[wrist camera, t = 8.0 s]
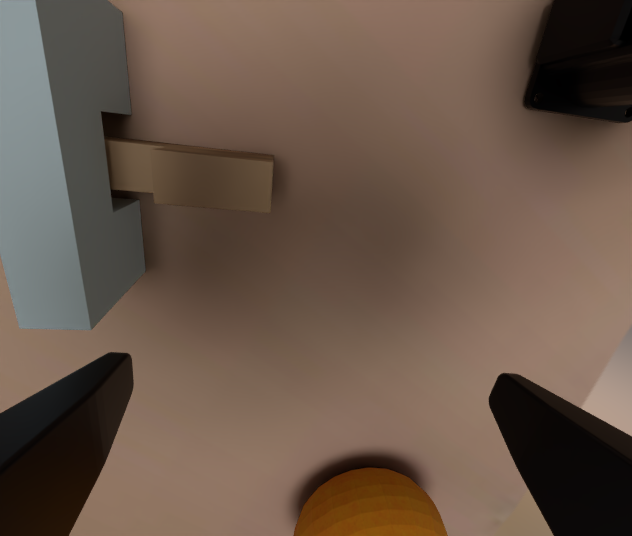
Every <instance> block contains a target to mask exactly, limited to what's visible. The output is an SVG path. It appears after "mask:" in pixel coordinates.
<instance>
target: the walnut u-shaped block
mask: <svg viewBox="0 0 632 536" xmlns="http://www.w3.org/2000/svg"><path fill="white" fill-rule="evenodd" d="M104 142H105V150H106V158H107V166H108V175H109V183H110V189H114V190H125V191H136V192H147V193H153V195H154V203H156V204H168V205H180V206H192V207H203V208H215V209H227V210H239V211H250V212H262V213H270V210H271V194H272V178H273V163H274V161H273V155H266V154H258V153H249V152H240V151H231V150H222V149H213V148H204V147H195V146H186V145H177V144H168V143H160V142H151V141H142V140H133V139H124V138H115V137H106V136H104Z"/></svg>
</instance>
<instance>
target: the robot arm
mask: <svg viewBox="0 0 632 536" xmlns="http://www.w3.org/2000/svg"><path fill="white" fill-rule="evenodd" d="M536 94H537V95H538V100H537V102H536V103H535V101H534V99H535V96H536ZM524 103H525V106H526V107H527V108H528V109H531V110H537V111H544V112H550V113H557V114H564V115H570V116H577V117H583V118H590V119H597V120H603V121H610V122H616V123H625V122H630V121H632V0H555V1H554V3H553V7H552V10H551V13H550V16H549V19H548V23H547V26H546V29H545V32H544V36H543V39H542V42H541V45H540V48H539V52H538V55H537V60H536V64H535V67H534V70H533V73H532V77H531V80H530V83H529V86H528V89H527V93H526V96H525V101H524ZM625 111H626V114H625ZM133 384H134V382H133V368H132V358H131V355H130V354H128V353H117V352H110V353H107V354H105V355H104V356H102V357H100V358H98V359H96V360H95V361H93V362H91V363H89V364H87V365H86V366H84V367H82V368H80V369H79V370H77V371H75V372H73V373H71V374H70V375H68V376H66V377H64V378H62V379H61V380H59V381H57V382H55V383H54V384H52V385H50V386H48V387H46V388H45V389H43V390H41V391H39V392H38V393H36V394H34V395H32V396H30V397H29V398H27V399H25V400H23V401H21V402H20V403H18V404H16V405H14V406H13V407H11V408H9V409H7V410H5V411H4V412H2V413H0V536H69V534H70V532H71V530H72V528H73V526H74V524H75V522H76V520H77V518H78V516H79V514H80V512H81V510H82V508H83V506H84V504H85V502H86V500H87V499H88V497H89V495H90V493H91V491H92V489H93V487H94V485H95V483H96V481H97V479H98V477H99V475H100V473H101V470H102V468H103V466H104V464H105V462H106V459H107V457H108V454H109V452H110V449H111V447H112V444H113V441H114V439H115V436H116V434H117V431H118V428H119V426H120V423H121V421H122V418H123V415H124V413H125V410H126V407H127V405H128V402H129V400H130V397H131V394H132V391H133ZM489 406H490V409H491V411H492V413H493V415H494V418H495V420H496V422H497V424H498V427H499V429H500V431H501V433H502V436H503V438H504V440H505V443H506V445H507V447H508V449H509V452H510V454H511V456H512V458H513V460H514V462H515V465H516V467H517V469H518V470H519V472H520V474H521V476H522V478H523V480H524V482H525V484H526V485H527V487H528V489H529V491H530V493H531V495H532V496H533V498H534V500H535V502H536V504H537V506H538V507H539V509H540V511H541V513H542V515H543V517H544V518H545V520H546V522H547V524H548V526H549V528H550V529H551V531H552V533H553V535H554V536H632V436H630V435H628V434H626V433H624V432H623V431H621V430H619V429H617V428H615V427H613V426H612V425H610V424H608V423H606V422H604V421H603V420H601V419H599V418H597V417H595V416H594V415H592V414H590V413H588V412H586V411H584V410H583V409H581V408H579V407H577V406H575V405H573V404H572V403H570V402H568V401H566V400H564V399H563V398H561V397H559V396H557V395H555V394H553V393H552V392H550V391H548V390H546V389H544V388H542V387H541V386H539V385H537V384H535V383H533V382H532V381H530V380H528V379H526V378H524V377H522V376H521V375H518V374H513V373H502V374H500V375H499V376H498V378H497V380H496V382H495V385H494V387H493V389H492V391H491V394H490V396H489Z"/></svg>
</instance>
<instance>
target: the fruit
mask: <svg viewBox="0 0 632 536" xmlns="http://www.w3.org/2000/svg"><path fill="white" fill-rule="evenodd" d="M294 536H448V535H447V532H446V530H445V527H444V524H443V521H442V519H441V516H440V514H439V512H438V510H437V508H436V506H435V504H434V502H433V501H432V500H431V498H430V497H429V496H428V494H427V493H426V492H425V491H424V490H422V489H421V488H420V487H419V486H418V485H417V484H416V483H414V482H413V481H412V480H411V479H410V478H409V477H407V476H405V475H402V474H400V473H397V472H395V471H392V470H389V469H382V468H362V469H355V470H350V471H348V472H345V473H343V474H340V475H337V476H335V477H333V478H332V479H330V480H329V481H327V482H326V483H324V484H323V485H321V486H320V487H318V489H317V490H316V491H315V492H314V493H313V494H312V496H311V497H310V498H309V499H308V500H307V502H306V503H305V504H304V506H303V509H302V511H301V514H300V516H299V519H298V522H297V524H296V527H295V531H294Z"/></svg>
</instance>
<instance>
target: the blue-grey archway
mask: <svg viewBox="0 0 632 536" xmlns="http://www.w3.org/2000/svg"><path fill="white" fill-rule="evenodd" d="M101 112H110V113H119V114H127V115H132V114H131V103H130V92H129V81H128V70H127V59H126V48H125V37H124V26H123V15H122V12H121V11H120V10H119V9H117V8H116V7H115V6H114V5H112V4H111V3H110V2H109V1H107V0H0V255H1V259H2V263H3V267H4V271H5V274H6V278H7V282H8V286H9V290H10V293H11V297H12V301H13V305H14V309H15V313H16V316H17V320H18V324H19V328H22V329H63V330H92V329H93V328H94V326H95V325H96V324H97V323H98V322H99V321H100V320H101V319H102V318H103V317H104V316H105V315H106V313H107V312H108V311H109V310H110V309H111V308H112V307H113V306H114V305H115V304H116V303H117V302H118V301H119V299H120V298H121V297H122V296H123V295H124V294H125V293H126V292H127V291H128V290H129V289H130V288H131V286H132V285H133V284H134V283H135V282H136V281H137V280H138V279H139V278H140V277H141V276H142V275H143V273H144V272H145V271H146V269H145V258H144V247H143V236H142V225H141V214H140V203H139V200H135V199H123V198H111V191H110V183H109V175H108V166H107V158H106V150H105V142H104V133H103V125H102V117H101Z"/></svg>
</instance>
